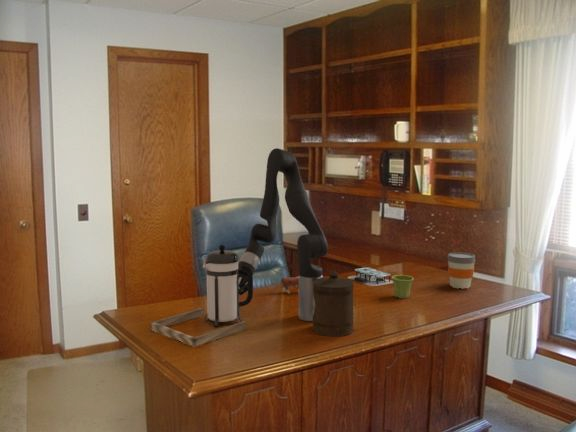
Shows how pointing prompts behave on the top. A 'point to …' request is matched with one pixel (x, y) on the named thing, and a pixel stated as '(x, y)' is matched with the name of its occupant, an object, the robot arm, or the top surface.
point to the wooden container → (333, 306)
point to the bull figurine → (290, 283)
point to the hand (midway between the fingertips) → (229, 302)
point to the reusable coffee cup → (460, 269)
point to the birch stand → (162, 328)
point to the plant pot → (402, 285)
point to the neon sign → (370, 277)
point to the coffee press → (225, 286)
